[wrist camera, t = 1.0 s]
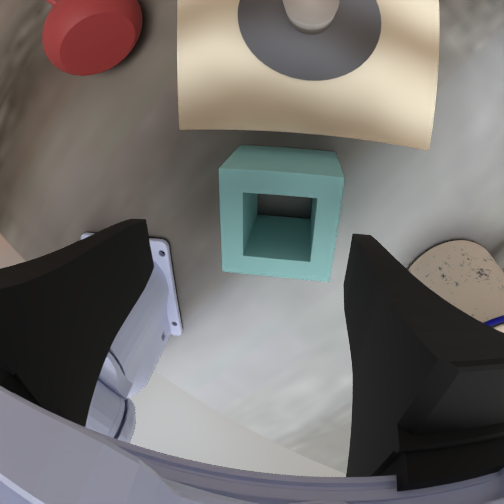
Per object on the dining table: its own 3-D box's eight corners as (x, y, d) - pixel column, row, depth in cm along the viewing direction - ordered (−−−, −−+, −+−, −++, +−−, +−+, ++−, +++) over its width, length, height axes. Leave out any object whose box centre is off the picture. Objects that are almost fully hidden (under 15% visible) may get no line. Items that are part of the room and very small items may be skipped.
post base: (420, 144, 16) (458, 172, 12) (188, 125, 18) (147, 145, 13) (425, -48, 9) (460, -78, 5) (189, -62, 11) (151, -96, 7)
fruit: (145, -11, 15) (56, -56, 8) (171, 24, 14) (59, -33, 7) (91, 50, 18) (1, 24, 11) (106, 95, 17) (-5, 69, 10)
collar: (325, 236, 20) (328, 281, 16) (240, 228, 21) (222, 271, 17) (335, 151, 18) (344, 177, 13) (240, 145, 18) (218, 168, 14)
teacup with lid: (423, 345, 24) (449, 464, 14) (370, 284, 22) (394, 431, 12) (531, 268, 18) (596, 371, 9) (498, 185, 16) (605, 288, 6)
